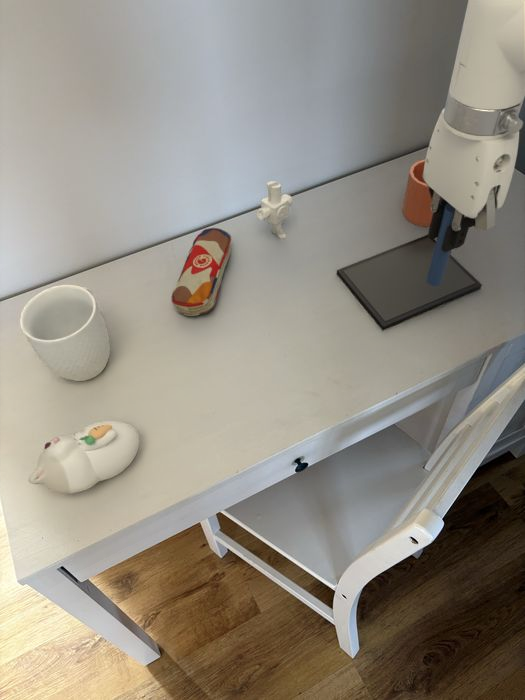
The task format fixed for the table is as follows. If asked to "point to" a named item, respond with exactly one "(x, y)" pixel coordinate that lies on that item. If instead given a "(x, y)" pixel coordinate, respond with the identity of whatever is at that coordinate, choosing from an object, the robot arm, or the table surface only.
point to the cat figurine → (86, 457)
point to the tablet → (404, 282)
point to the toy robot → (275, 208)
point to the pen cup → (417, 197)
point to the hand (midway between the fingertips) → (445, 240)
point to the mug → (67, 331)
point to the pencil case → (202, 273)
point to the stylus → (440, 250)
